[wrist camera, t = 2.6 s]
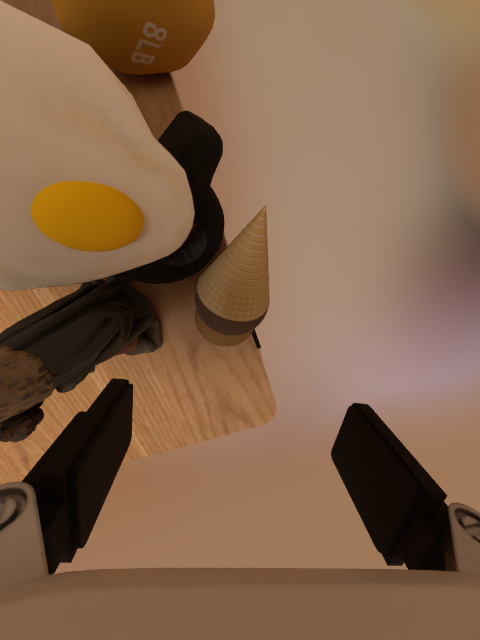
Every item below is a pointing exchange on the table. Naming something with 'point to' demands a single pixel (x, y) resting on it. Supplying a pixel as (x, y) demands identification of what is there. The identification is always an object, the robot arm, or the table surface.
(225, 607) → the robot arm
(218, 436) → the table surface
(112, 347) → the figurine
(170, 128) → the controller
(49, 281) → the cracked egg
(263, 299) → the ice cream cone
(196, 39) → the dumbbell
